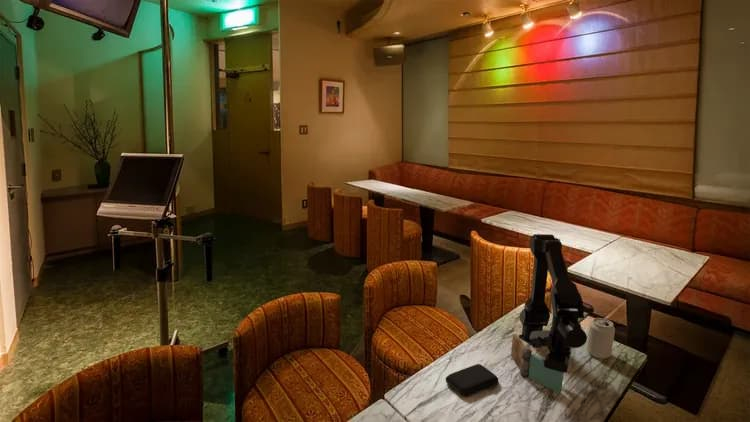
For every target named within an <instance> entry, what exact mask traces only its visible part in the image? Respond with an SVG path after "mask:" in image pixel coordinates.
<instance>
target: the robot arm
mask: <svg viewBox="0 0 750 422" xmlns="http://www.w3.org/2000/svg"><path fill="white" fill-rule="evenodd" d="M528 242H529V243H528V244H529V247H530V248H529V250H530V253H531V254H532V256H533V258H534V260H533V270H532V279H531V289H530V297H529V298H528V299H527V300H526V301H525V303H524V306H523V309H522V311H521V312H520V313H519V321H520V323H521V324H522V330H521V334H518V337H519V339H521V340H523V341H526V343H528V344H529V345H530V346H531V347H532V348H533V349H539V348H543V347H544V348H545V347H547V348H546V349H547V350H548V352H547V354H545V357H544V367H545V368H548V369H552V370H556V371H559V372H563V373H564V374H566V373H568V370H569V364H570V358H571V353H572V352H571V348H574V349H577V348H581V347H583V346H584V345H585V344H587V342H588V336H587V333H586V331H585V330H584V329H583V327H582V324H581V323H580V322H579V319H584V318H585V314H584V313H585V312H586V311H585V306H584V303H583V302H584V300H583V298H582V295H581V293H580V292H579V289H578V287H577V285H576V283H574V282H573V280H571V279H570V277H569V276H570V275H569V272H568V269H567V265H566V262H565V258H564V255H563V251H562V250H563V244H562V241H561V238H557V237H555V235H553V234H543V233H542V234H541V233H534V234H533V235H532V236H530V237H529V241H528ZM548 272H549V273H550V276H551V280H552V288H551V289H550V297H549V300H550V304H551V309H552V320H551V326H550V330H545V329H544V327H548V324H549V322H550V318H551V314H550V309H549V307H548V305H547V303H546V291H547V284H548V283H547V282H548V275H549V274H548ZM572 309H573V310H572ZM576 309H577V310H576Z"/></svg>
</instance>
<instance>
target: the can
mask: <svg viewBox="0 0 750 422" xmlns="http://www.w3.org/2000/svg"><path fill="white" fill-rule="evenodd" d="M615 333H616V328H615V326H614V322H613V321H611V320H609V319H607V318H602V317H596V318H593V319H592V321H591V322H590V323H589V329H588V334H587V335H588V336H587V341H586V351H587V353H588V354H590V356H592V357H594V358H596V359H601V360H606V359H608V358H610V357H612V353H613V352H612V351H613V345H614V339H615Z"/></svg>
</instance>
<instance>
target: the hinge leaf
mask: <svg viewBox="0 0 750 422" xmlns="http://www.w3.org/2000/svg"><path fill="white" fill-rule="evenodd" d="M544 360H545V358H542V357H540V356H538V355H536V354H533V353H532V354H531V357H530V361H526V360H523V359H522V363H521V369H522V370H525V371H529V377H528V378H529V379H530V380H532V381H534V382H536V383H538V384H540V385H542V386H544V387H545V388H548V389H550V390H551V391H553V392H555V393H556V394H561V393H562V389H563V384H564V383H563V382H564V374H565V373H563V372H559V371H556V370H552V369H548V368H545V367H544Z"/></svg>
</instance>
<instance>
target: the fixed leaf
mask: <svg viewBox="0 0 750 422" xmlns="http://www.w3.org/2000/svg"><path fill="white" fill-rule="evenodd" d="M532 351H533V350H531V349H530V348H527V347H526V346H525V344H524V343H523V341H522V339H521V338H520V337H519V335H518V334H516V333H514V334H512V339H511V351H510V352H511V353H510V356H511V358H512V360H513V361H514V363H515V365H516V366H517V368H518V369H519V371H520V373H519V374H520V377H523V378H525V379H526V378H529V371H525V370H522V369H521V363H522V359H523V360H526V361H530V357H531V355H532V354H533V353H532Z"/></svg>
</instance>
